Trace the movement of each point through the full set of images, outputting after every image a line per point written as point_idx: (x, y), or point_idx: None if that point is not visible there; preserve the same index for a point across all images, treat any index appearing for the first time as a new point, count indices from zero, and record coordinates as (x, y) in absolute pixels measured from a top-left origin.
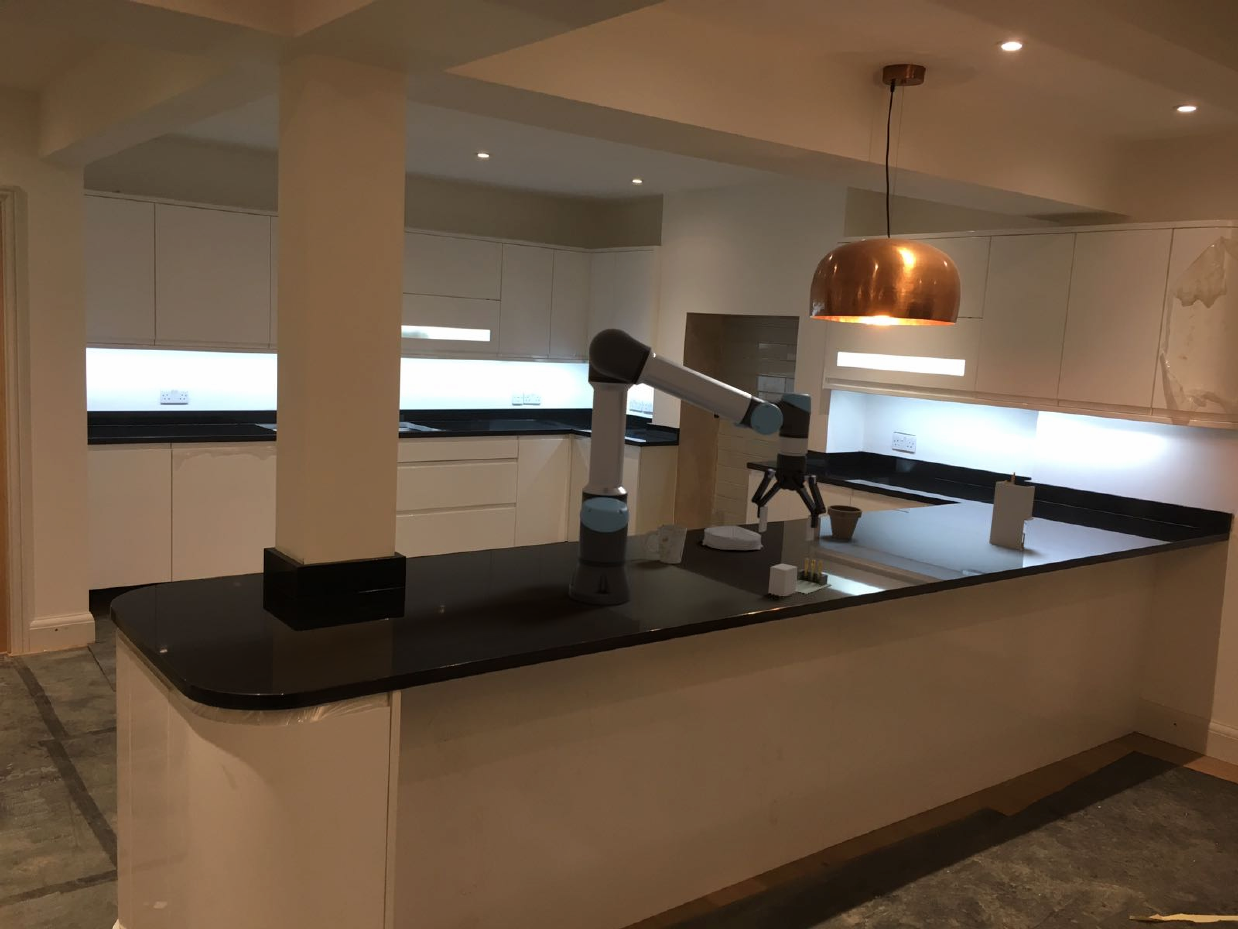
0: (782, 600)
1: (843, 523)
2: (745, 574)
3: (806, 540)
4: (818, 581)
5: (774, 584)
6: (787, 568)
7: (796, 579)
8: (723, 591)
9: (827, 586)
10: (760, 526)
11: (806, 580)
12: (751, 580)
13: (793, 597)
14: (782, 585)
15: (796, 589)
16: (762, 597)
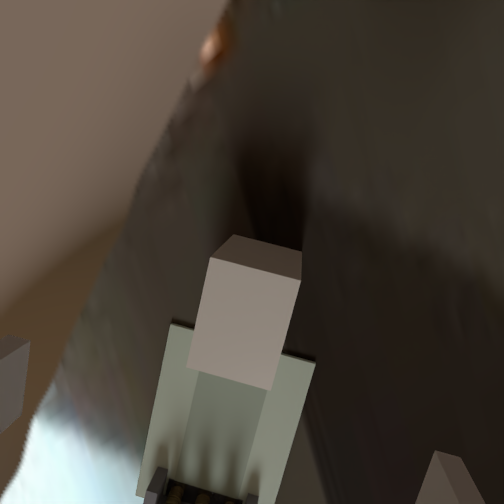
0: (223, 180)
1: None
2: None
3: (23, 340)
4: (174, 490)
5: (275, 254)
6: (217, 302)
7: (260, 498)
8: (481, 160)
9: (141, 469)
10: (462, 489)
11: (222, 499)
12: (416, 405)
13: (201, 252)
14: (236, 245)
15: None
16: (305, 173)
